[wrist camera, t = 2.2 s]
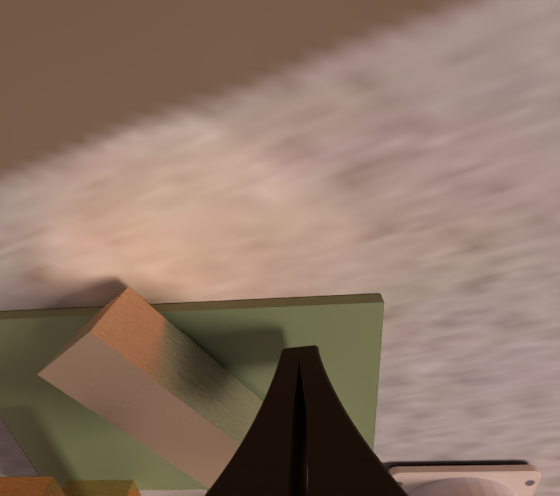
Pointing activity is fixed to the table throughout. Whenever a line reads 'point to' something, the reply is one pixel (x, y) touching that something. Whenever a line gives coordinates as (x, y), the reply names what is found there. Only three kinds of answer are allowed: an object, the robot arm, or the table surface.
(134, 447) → the plate
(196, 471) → the beige rectangular block
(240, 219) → the table surface
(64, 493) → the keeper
